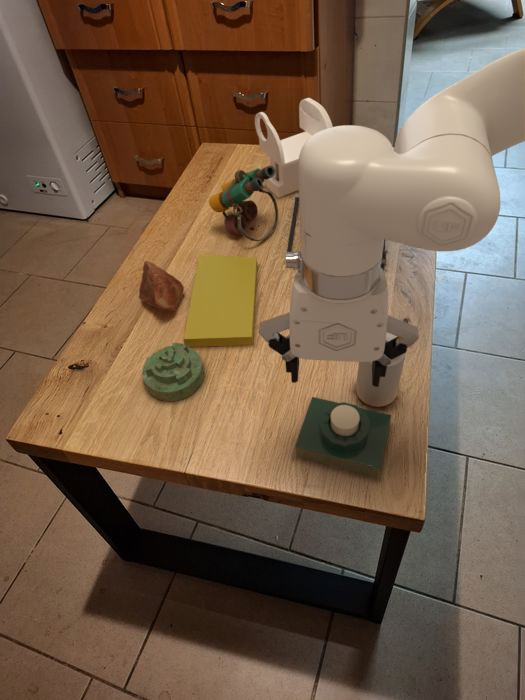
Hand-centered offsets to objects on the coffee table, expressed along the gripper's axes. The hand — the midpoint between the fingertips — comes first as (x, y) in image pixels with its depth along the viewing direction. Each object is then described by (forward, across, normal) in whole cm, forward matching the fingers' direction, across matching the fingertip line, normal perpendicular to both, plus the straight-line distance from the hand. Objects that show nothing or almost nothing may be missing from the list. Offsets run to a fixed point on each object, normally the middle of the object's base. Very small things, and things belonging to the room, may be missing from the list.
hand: (334, 375), depth 59 cm
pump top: (+12, +2, +1) cm, 12 cm away
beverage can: (+17, +7, +10) cm, 21 cm away
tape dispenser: (+17, -11, +73) cm, 76 cm away
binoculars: (+17, -20, +54) cm, 60 cm away
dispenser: (+17, +2, +1) cm, 17 cm away
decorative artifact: (+17, -27, +11) cm, 33 cm away
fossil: (+17, -34, +30) cm, 48 cm away
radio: (+17, 0, +52) cm, 55 cm away
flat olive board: (+17, -22, +30) cm, 41 cm away
